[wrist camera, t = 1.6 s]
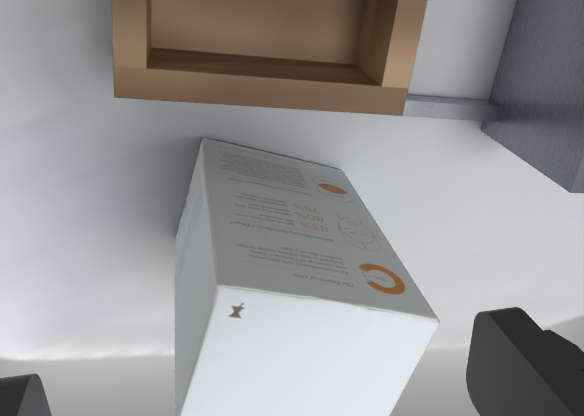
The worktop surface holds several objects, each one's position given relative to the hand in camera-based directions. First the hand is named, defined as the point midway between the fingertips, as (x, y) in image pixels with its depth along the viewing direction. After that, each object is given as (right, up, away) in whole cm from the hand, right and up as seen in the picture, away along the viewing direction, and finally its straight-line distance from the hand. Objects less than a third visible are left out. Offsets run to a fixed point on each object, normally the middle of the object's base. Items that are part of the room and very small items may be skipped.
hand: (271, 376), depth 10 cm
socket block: (-1, +14, +14) cm, 20 cm away
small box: (-1, +3, +20) cm, 21 cm away
